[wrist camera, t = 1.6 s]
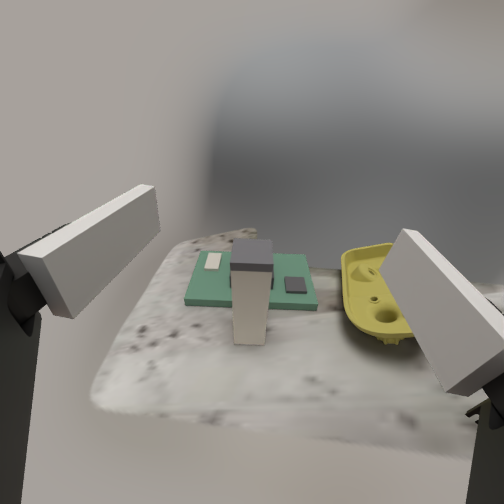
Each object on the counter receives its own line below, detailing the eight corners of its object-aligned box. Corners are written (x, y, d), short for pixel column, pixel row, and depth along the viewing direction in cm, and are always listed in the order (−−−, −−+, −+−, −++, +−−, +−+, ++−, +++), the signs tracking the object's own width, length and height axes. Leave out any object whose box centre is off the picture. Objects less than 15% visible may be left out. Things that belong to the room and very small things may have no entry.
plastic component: (340, 251, 43) (401, 240, 38) (348, 281, 45) (406, 274, 41) (344, 334, 27) (450, 332, 22) (356, 373, 29) (452, 378, 25)
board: (303, 260, 43) (307, 243, 41) (316, 310, 34) (321, 292, 31) (201, 256, 44) (199, 239, 41) (185, 305, 34) (181, 287, 32)
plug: (264, 319, 32) (271, 239, 24) (264, 345, 29) (273, 264, 21) (236, 318, 32) (233, 238, 24) (233, 344, 29) (229, 262, 21)
